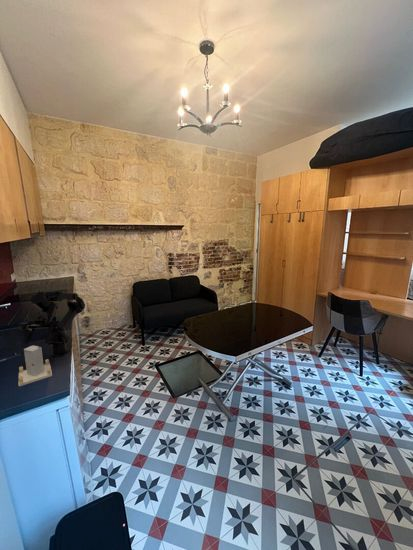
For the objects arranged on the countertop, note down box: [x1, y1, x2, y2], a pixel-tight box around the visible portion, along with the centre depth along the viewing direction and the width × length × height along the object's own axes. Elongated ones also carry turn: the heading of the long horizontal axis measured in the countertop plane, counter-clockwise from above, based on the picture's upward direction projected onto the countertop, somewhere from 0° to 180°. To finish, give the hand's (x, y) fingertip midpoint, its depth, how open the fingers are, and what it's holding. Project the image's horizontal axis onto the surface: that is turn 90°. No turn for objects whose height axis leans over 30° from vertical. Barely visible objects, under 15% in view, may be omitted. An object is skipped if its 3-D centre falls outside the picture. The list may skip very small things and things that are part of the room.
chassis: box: [17, 358, 53, 387], centre depth 107 cm, size 12×12×4 cm
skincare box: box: [23, 345, 44, 376], centre depth 107 cm, size 6×4×12 cm
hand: (35, 344), depth 108 cm, fingers open, 9 cm apart
